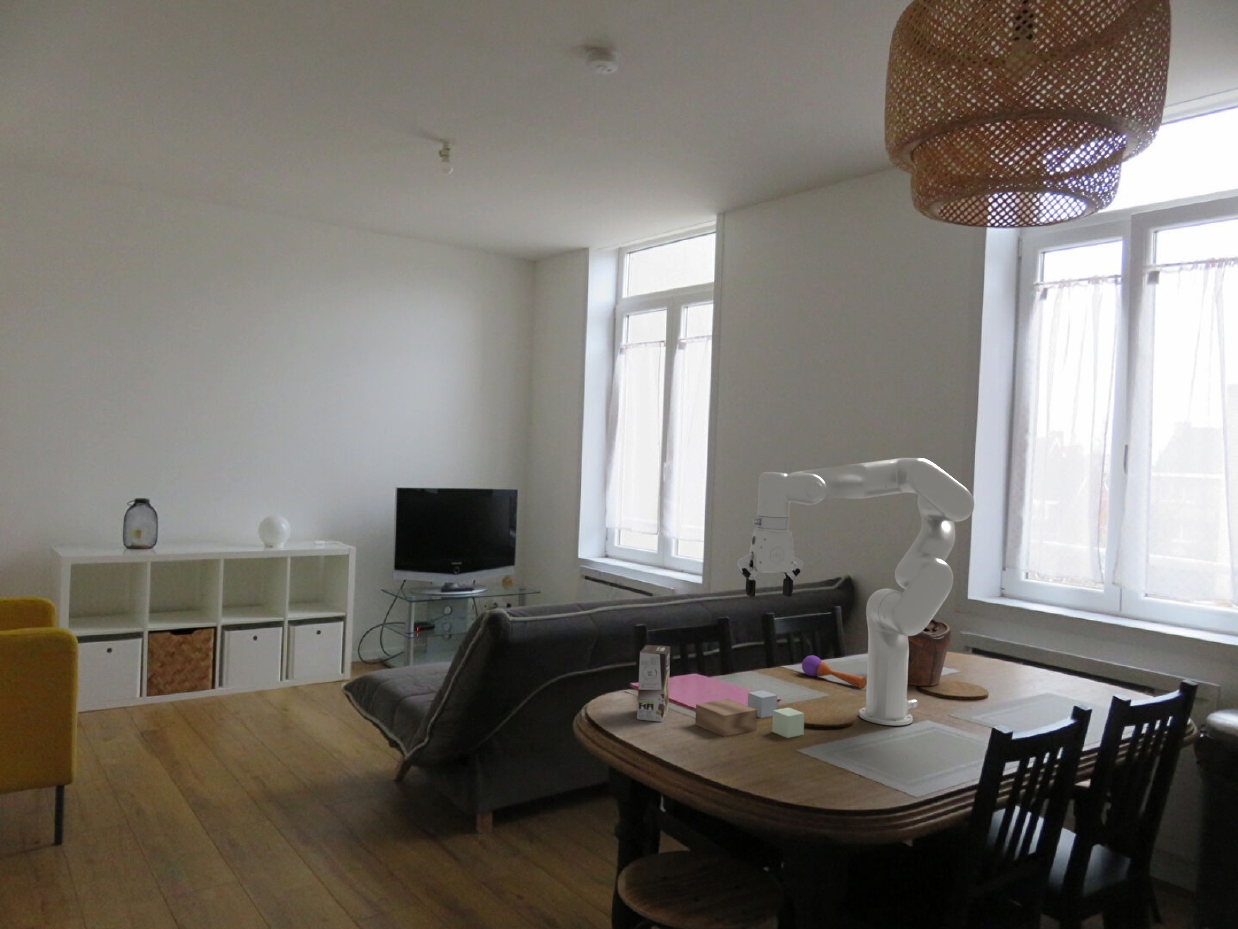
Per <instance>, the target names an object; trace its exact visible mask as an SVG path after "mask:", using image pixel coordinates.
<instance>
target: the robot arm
mask: <svg viewBox="0 0 1238 929" xmlns="http://www.w3.org/2000/svg"><path fill="white" fill-rule="evenodd" d="M905 493H909V494H916V495H918V496H917V507H918V511H919V515H920V520H921V524H920V526H921V527H920V531H919V532H918V535H917V536H916V538H915V540H914V541H913V542H912V544H911V546H910V547H909V548H908V550H907V551H906V552H905V554H904V556H903V557H901V558H902V559H901V560H900V561H899V563H898V564H897V566H896V568H895V571H894V579H895V581H896V583H897V585H899V587H901V588H902V589H904V591H899V590H896V589H893V588H882V589H878V590H876V591H874V592H873V593H872V594H871V595H870V596H869V598H868V600H867V603H866V608H865V610H866V612H865V616H866V623H867V631H868V632H867V633H868V640H867V642H868V644H867V645H868V646H867V648H868V649H867V664H866V665H867V666H866V668H867V670H866V687H865V689H866V690H865V707H862V708H860V709H859V710H858V717H859V718H861V719H863V721H867V722H870V723H872V724H876V725H877V724H878V725H884V726H894V727H895V726H897V727H898V726H908V725H909V724H912V723H913V720H914V719H913V718H914V717H913V715H912V714H911V713H909V710H910V709H913V708H917V707H918V705H919V704H918V700H916V699H914V698H913V699H908V684H907V681H908V657H909V642H908V636H913V635H916V634H918V633H920V632H921V631H923V630H924V629H925V628H926V626H927V625H928V624H929V622H930V621H931V620H933V618H934V617H935V615H936V614H937V612H938V611H939V609H940V608H941V607H942V606H943V603H944V602H945V601H946V599H947V598H948V596H949V595H950V592H951V590H952V588H953V585H954V573H953V570H952V568H951V566H950V565H949V564H948V563H947V562H946V561H947V559H948V557H949V555H950V553H951V552H952V550H953V548H954V546H955V542H956V525H955V523H956V522H964V521H965V520H968V518H969V517H970V516H971V515H972V514H973V512H974V510H975V499H974V497H973V495H972V493H971V492H970V490H969V489H967V487H966V486H964V485H963V484H961V483H960V482H959V481H957V480H956V478H953V477H952V476H951V475H949V473H947V472H946V471H944V469H942V468H941V467H940V466H938V465H937V464H935V463H934V462H932V461H931V460H928V459H927V458H920V457H898V458H891V459H883V460H876V461H867V462H860V463H854V464H853V463H852V464H845V465H840V466H834V467H823V468H816V469H807V470H800V471H792V472H790V473H786V472H777V471H776V472H775V471H773V472H772V471H765V472H761V474H760V475H759V479H758V496H757V510H756V511H757V512H756V514H757V515H756V518H753V519H752V520H751V524H752V525H755V527H756V528H754V529H753V533H752V537H751V540H750V541H751V542H750V548H749V553H748V554H746V555H744V556H743V557H741V558H739V559H737V561H736V563H737V564H736V565H737V567H738V568H739V572H740V573H741V574H742V576H743V577H744V578H745V593H746V596H748V597H751V598H755V597H756V587H757V585H756V584H757V581H756V580H755V578H756V577H757V575H758V574H759V573H764V574H767V573H769V574H770V573H771V574H783V575H784V578H783V580H782V582H783V583H782V595H783V596H785V597H788V598H792V596H793V595H792V594H793V591H794V581H795V580H796V579H797V576H799V575H800V573H801V570H802V569H803V567H804V564H805V561H804V560H802V559H801V558H799V557H797V556H795V546H794V537H793V530H789V527H790V510H791V503H793V504H794V503H796V504H800V505H805V506H812V505H813V506H814V505H816V504H820V502H821V501H823V499H835V498H836V499H849V500H850V499H851V500H857V499H868V498H873V497H874V498H875V497H881V496H882V497H883V496H889V495H896V494H905ZM747 563H748V569H747V568H746V564H747Z"/></svg>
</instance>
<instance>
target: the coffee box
mask: <svg viewBox="0 0 1238 929" xmlns="http://www.w3.org/2000/svg"><path fill="white" fill-rule="evenodd" d="M638 662H639V665H638V668H639V669H638V686H637V687H638V689H637V712H636V714H637V715H636V719H637V720H638V721H639V720H640V721H650V722H651V721H652V722H659V723H663V721H664V720H665V718H666V715H667V714H668V712H669V696H670V694H669V692H670V663H671V646H669V645H649V644H645V645H644V646H643V648H642V649H641V650H640V651H639V661H638Z"/></svg>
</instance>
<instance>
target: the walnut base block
mask: <svg viewBox="0 0 1238 929" xmlns="http://www.w3.org/2000/svg"><path fill="white" fill-rule="evenodd" d="M694 723H695V726H698V727H701V728H703V729H705V730H708V731H710V732H712V733H714V734H717V735H719V736H721V737H724V738H725V737H728V736H734V735H738V734H739V735H740V734H745V733H748V732H755V731H757V729H758V728H757V724H758V717H757V709H754V708H751V707H749V706H748V705H747V704H743V703H740V702H738V701H736V700H733V699H730V698H726V699H719V700H712V701H709V702H702V703H696V704H695V722H694Z"/></svg>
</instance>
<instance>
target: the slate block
mask: <svg viewBox="0 0 1238 929" xmlns="http://www.w3.org/2000/svg"><path fill="white" fill-rule="evenodd" d="M747 706H749V707H751V708H754V709H757V718H760V719H764V718H769V717H773V710H778V709H777V708H778V695H777V694H775V693H772V692H769V691H767V690H763V689H762V690H756V691H751V692H747Z"/></svg>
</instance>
